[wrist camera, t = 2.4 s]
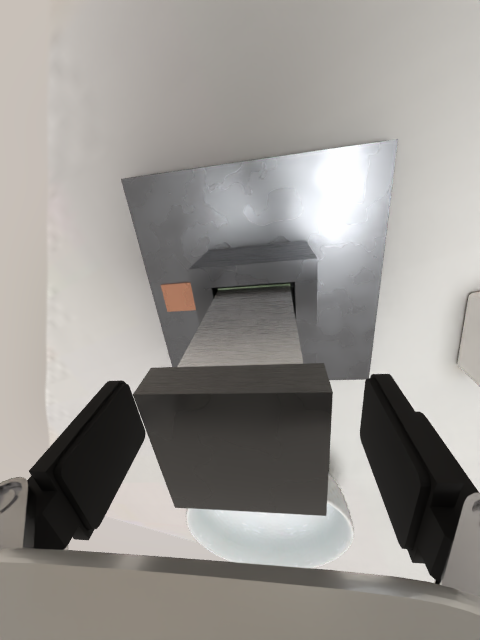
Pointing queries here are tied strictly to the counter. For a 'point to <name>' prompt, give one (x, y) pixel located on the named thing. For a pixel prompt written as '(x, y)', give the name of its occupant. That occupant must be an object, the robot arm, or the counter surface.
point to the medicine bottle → (471, 339)
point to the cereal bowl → (276, 534)
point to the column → (242, 411)
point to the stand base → (273, 244)
